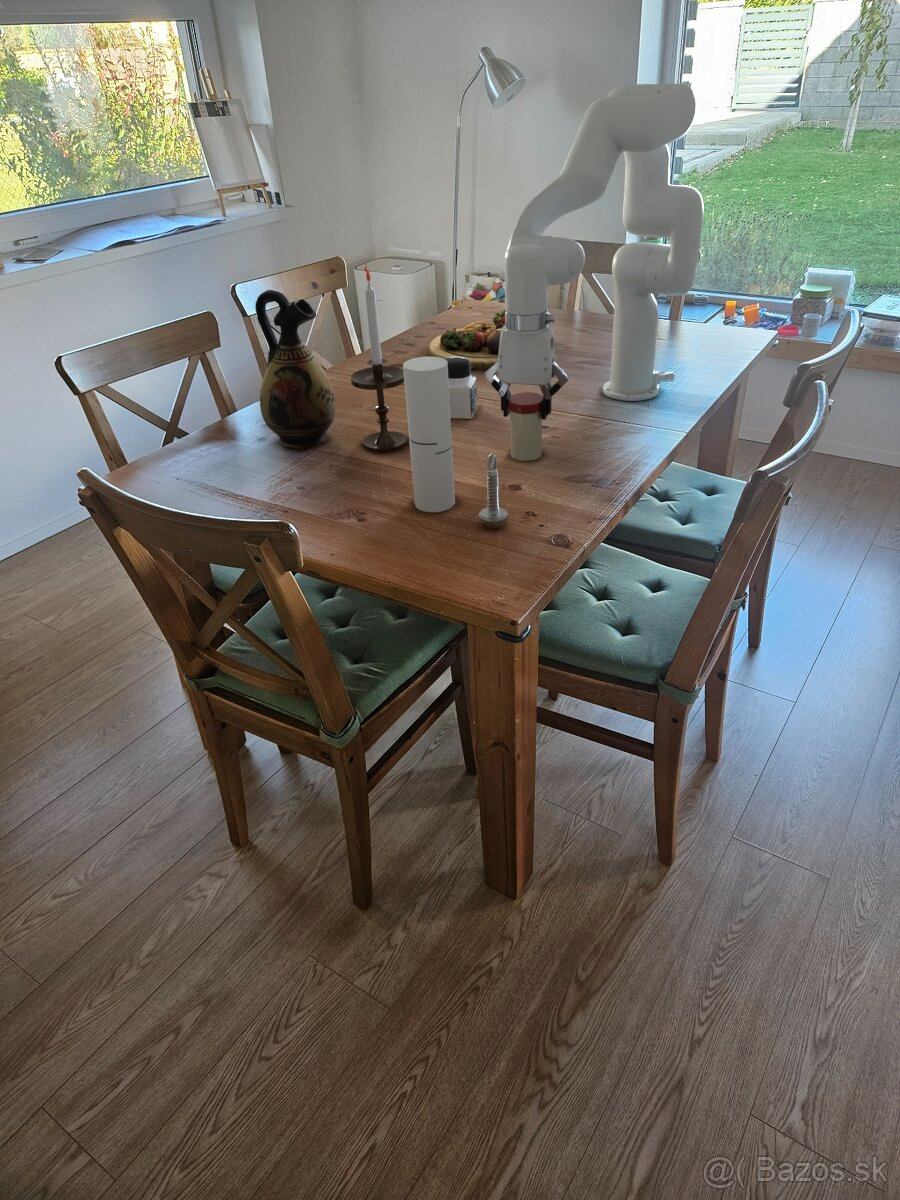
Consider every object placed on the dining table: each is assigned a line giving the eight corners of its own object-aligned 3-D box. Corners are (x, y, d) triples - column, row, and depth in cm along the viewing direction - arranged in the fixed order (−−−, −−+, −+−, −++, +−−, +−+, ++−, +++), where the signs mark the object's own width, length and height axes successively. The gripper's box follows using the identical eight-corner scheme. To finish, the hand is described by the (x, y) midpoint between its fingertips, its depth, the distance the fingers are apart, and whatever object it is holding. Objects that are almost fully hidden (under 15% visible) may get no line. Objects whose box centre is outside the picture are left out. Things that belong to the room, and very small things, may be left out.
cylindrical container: (413, 495, 148) (402, 358, 134) (453, 492, 148) (445, 355, 134) (415, 513, 142) (403, 372, 128) (456, 510, 142) (449, 368, 129)
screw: (513, 523, 137) (495, 535, 135) (491, 515, 140) (473, 527, 137) (513, 451, 130) (494, 462, 127) (489, 445, 133) (470, 455, 130)
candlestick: (352, 440, 171) (330, 262, 151) (400, 429, 174) (385, 255, 155) (368, 458, 163) (347, 273, 143) (419, 447, 166) (405, 265, 146)
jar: (536, 446, 163) (536, 393, 157) (545, 458, 158) (546, 404, 152) (507, 450, 162) (506, 397, 156) (515, 462, 158) (514, 408, 151)
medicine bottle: (471, 419, 177) (469, 364, 170) (439, 418, 178) (436, 364, 172) (477, 407, 183) (475, 354, 176) (446, 406, 184) (443, 353, 178)
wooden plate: (474, 327, 235) (473, 298, 231) (572, 342, 219) (573, 310, 214) (405, 359, 214) (402, 327, 210) (508, 378, 198) (507, 343, 193)
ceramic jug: (352, 428, 176) (334, 283, 159) (320, 458, 164) (297, 304, 147) (282, 422, 181) (258, 281, 164) (246, 450, 169) (216, 300, 152)
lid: (538, 399, 158) (538, 390, 157) (548, 411, 153) (548, 402, 152) (504, 403, 157) (503, 394, 156) (513, 415, 152) (513, 406, 151)
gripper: (578, 316, 146) (575, 411, 156) (485, 312, 151) (487, 405, 161) (570, 328, 141) (566, 426, 151) (473, 324, 146) (476, 419, 156)
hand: (526, 415), depth 156 cm, fingers closed on lid, 6 cm apart
